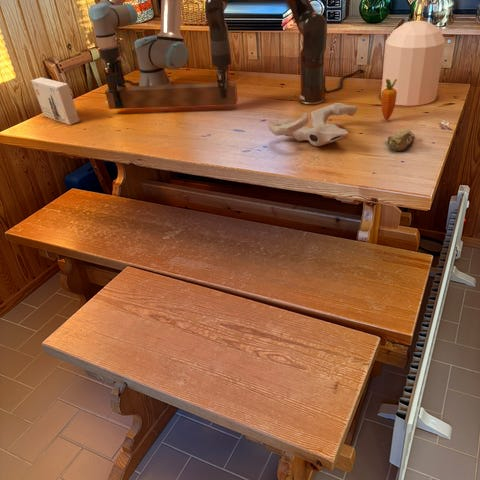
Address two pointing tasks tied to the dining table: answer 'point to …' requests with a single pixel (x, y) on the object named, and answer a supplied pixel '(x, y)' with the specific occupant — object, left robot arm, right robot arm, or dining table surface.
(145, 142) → the dining table surface
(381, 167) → the dining table surface
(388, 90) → the carrot
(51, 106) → the skincare box
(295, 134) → the animal horns
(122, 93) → the beam
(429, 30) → the container
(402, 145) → the rock
